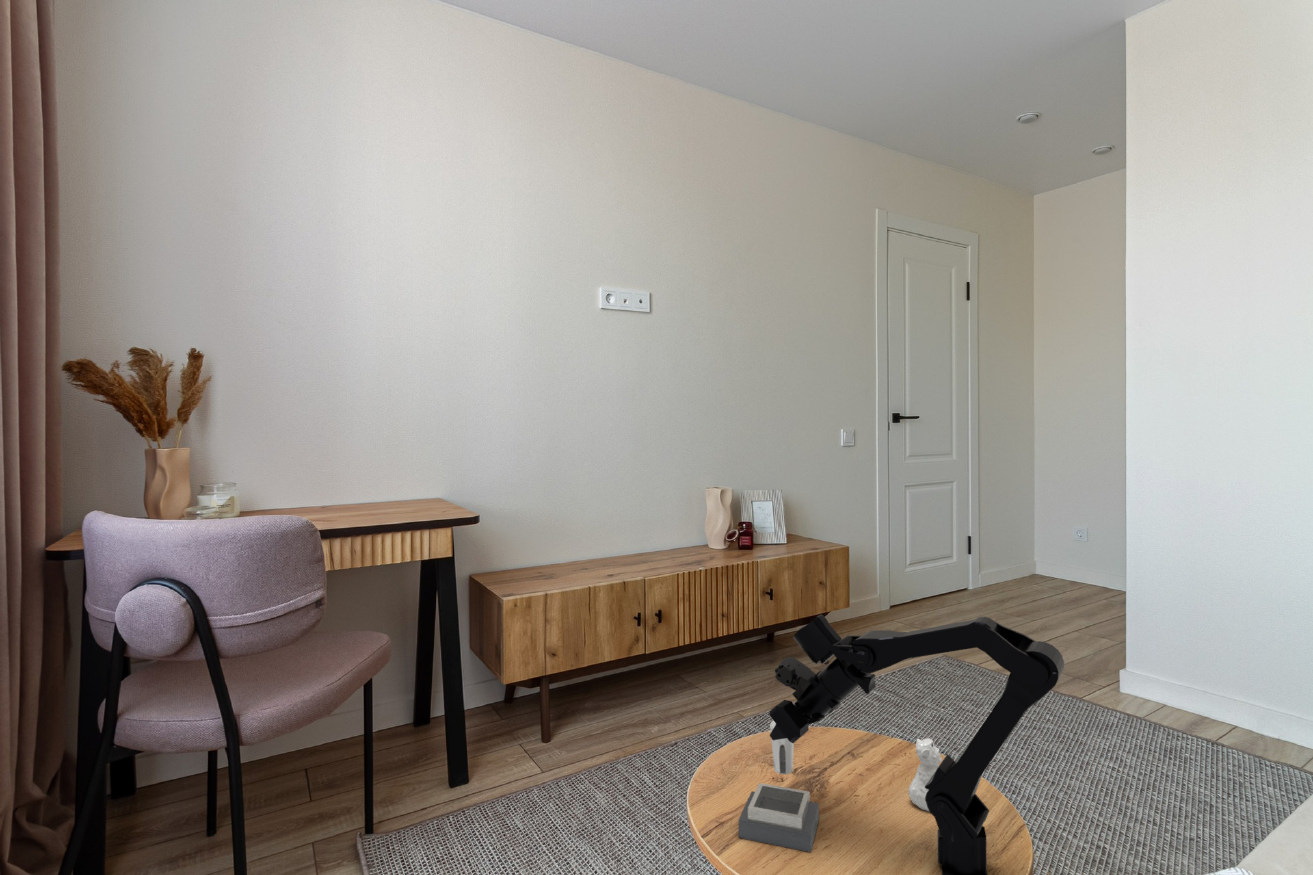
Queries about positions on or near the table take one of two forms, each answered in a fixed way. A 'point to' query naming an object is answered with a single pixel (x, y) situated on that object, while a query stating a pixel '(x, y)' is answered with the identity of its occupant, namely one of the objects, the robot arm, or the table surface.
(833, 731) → the table surface
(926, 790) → the seated beast figurine
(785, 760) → the milkshake
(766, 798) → the grey open rectangular box
